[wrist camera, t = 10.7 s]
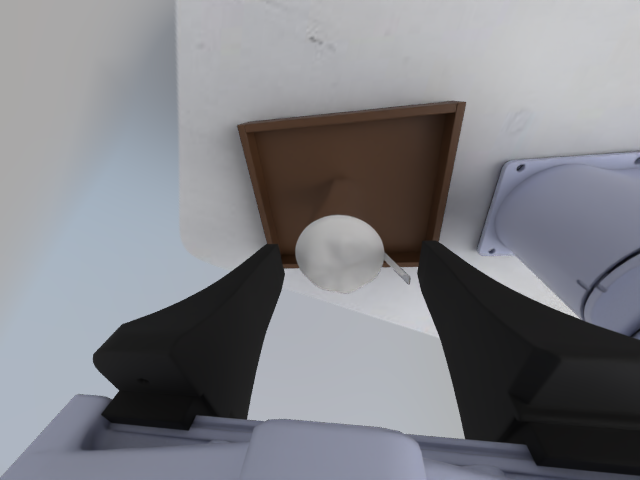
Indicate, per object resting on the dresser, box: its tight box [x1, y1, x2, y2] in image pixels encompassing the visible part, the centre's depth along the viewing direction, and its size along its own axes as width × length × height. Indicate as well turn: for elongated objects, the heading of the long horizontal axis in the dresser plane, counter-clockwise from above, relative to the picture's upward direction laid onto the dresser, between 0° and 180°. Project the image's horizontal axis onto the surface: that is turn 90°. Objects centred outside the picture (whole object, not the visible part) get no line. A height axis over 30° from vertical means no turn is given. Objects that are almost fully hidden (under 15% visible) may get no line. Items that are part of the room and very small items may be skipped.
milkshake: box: [295, 178, 410, 294], centre depth 15 cm, size 4×5×10 cm
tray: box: [237, 101, 466, 268], centre depth 18 cm, size 14×12×2 cm
